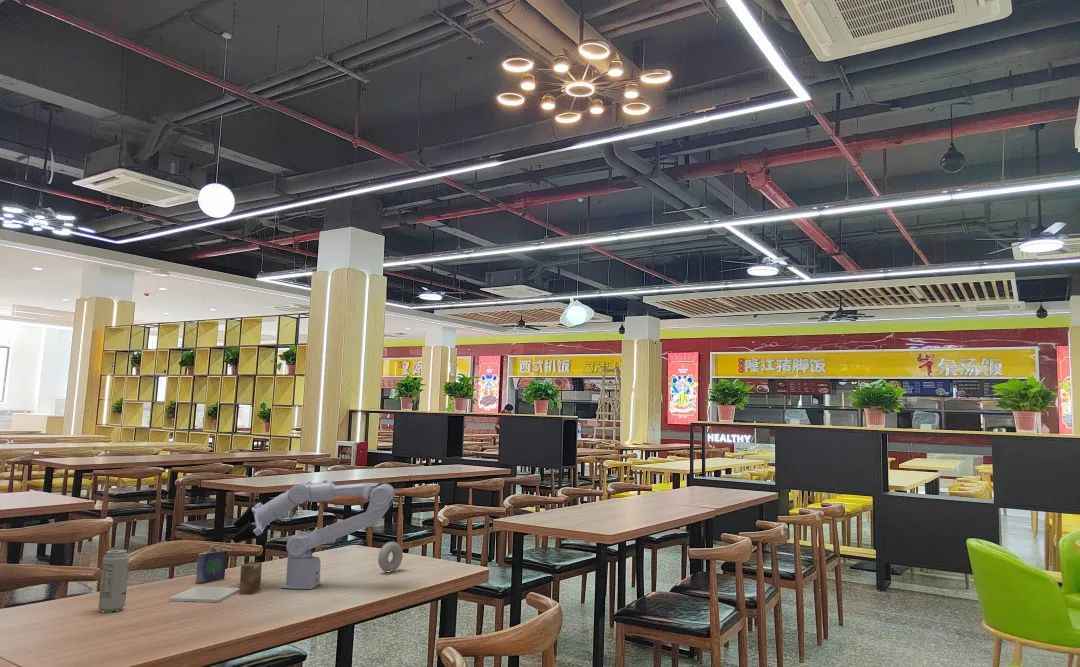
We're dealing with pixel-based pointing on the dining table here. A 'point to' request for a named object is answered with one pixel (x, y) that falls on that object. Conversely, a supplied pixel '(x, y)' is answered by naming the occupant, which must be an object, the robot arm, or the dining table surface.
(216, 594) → the stone board
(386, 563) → the donut
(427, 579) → the dining table surface
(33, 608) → the dining table surface
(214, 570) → the flask
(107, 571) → the energy drink can
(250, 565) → the walnut block
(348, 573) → the dining table surface
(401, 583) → the dining table surface
